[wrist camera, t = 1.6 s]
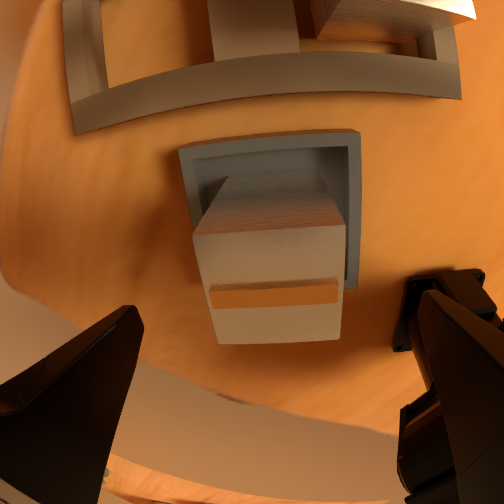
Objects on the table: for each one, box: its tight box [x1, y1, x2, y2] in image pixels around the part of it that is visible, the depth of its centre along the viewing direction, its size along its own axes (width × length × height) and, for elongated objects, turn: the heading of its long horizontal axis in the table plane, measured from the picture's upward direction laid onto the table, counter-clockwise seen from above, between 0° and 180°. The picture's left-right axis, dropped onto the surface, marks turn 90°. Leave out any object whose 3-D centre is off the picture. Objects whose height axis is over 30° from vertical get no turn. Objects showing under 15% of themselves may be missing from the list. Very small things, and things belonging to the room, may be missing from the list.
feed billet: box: [192, 168, 346, 344], centre depth 12 cm, size 4×4×7 cm
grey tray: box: [178, 129, 362, 290], centre depth 15 cm, size 8×8×2 cm
